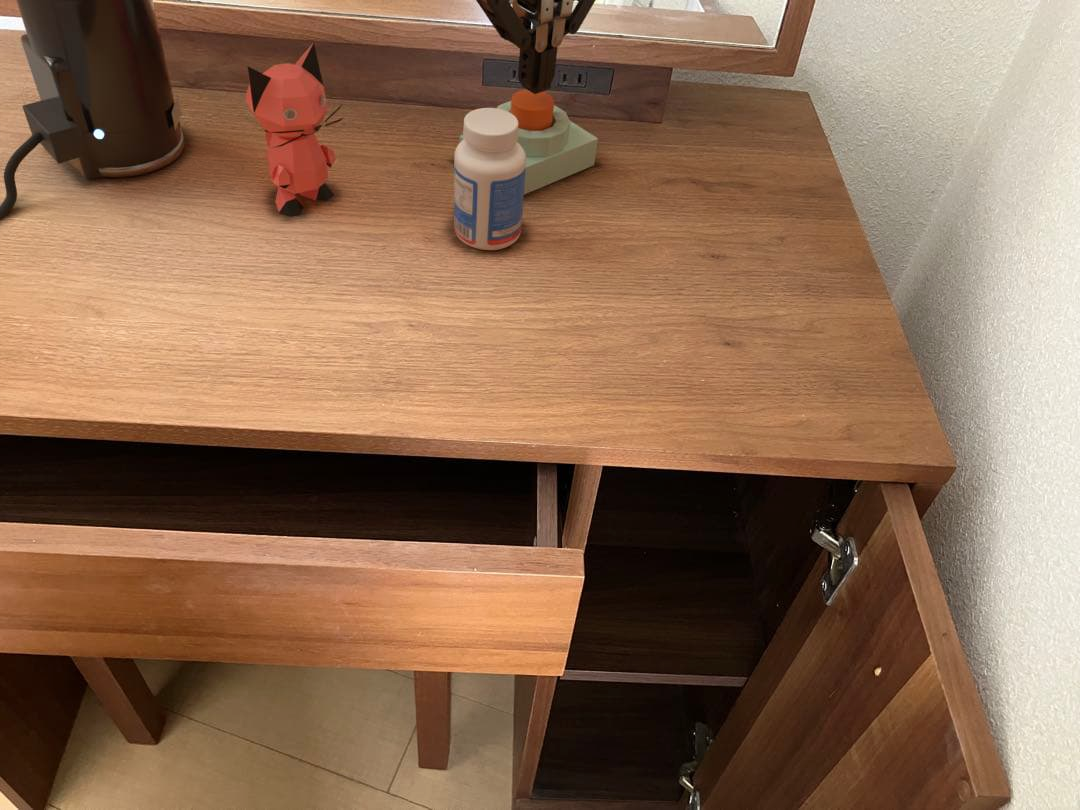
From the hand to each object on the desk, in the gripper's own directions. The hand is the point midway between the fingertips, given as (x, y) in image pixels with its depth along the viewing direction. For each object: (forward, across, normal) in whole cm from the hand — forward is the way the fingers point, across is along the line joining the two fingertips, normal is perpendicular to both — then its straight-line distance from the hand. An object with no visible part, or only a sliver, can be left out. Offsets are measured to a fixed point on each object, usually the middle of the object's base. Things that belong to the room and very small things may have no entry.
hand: (535, 88), depth 75 cm
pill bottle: (+7, +10, +6) cm, 13 cm away
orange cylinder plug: (+3, 0, 0) cm, 3 cm away
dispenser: (+7, 0, 0) cm, 7 cm away
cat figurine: (+7, +19, -7) cm, 22 cm away
